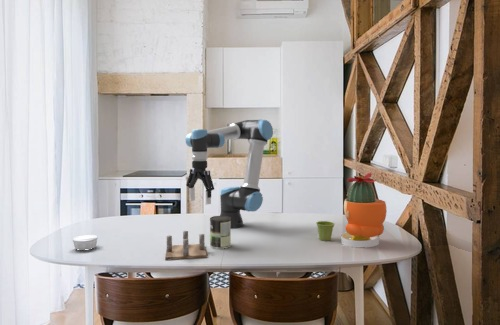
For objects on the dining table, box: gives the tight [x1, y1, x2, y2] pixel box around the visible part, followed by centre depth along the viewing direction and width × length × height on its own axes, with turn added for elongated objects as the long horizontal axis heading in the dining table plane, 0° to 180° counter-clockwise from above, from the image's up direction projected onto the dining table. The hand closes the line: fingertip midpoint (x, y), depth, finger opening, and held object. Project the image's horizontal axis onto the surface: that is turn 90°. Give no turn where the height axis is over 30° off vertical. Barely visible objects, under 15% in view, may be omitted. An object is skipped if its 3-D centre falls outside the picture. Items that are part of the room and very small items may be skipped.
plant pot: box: [315, 220, 335, 242], centre depth 204 cm, size 9×9×9 cm
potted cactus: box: [340, 172, 387, 248], centre depth 196 cm, size 22×22×35 cm
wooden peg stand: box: [164, 230, 207, 261], centre depth 182 cm, size 18×18×8 cm
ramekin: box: [72, 234, 99, 250], centre depth 190 cm, size 11×11×5 cm
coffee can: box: [209, 215, 232, 250], centre depth 192 cm, size 10×10×14 cm
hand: (200, 202), depth 196 cm, fingers open, 13 cm apart
